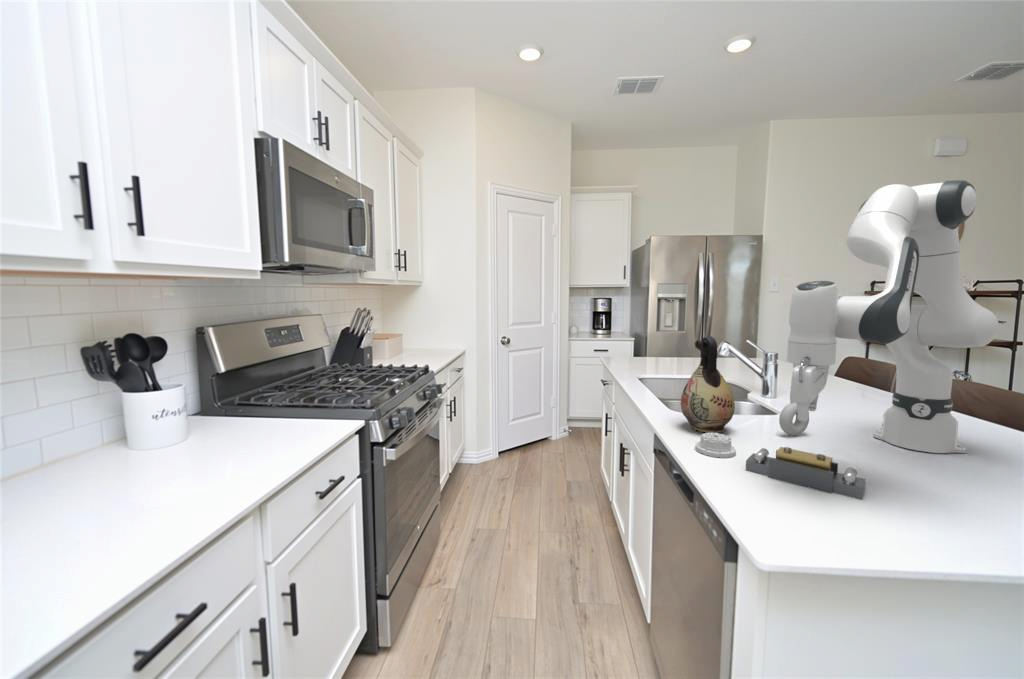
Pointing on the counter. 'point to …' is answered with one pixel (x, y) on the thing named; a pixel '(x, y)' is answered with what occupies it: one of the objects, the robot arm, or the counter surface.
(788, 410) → the donut
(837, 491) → the linear slide rail
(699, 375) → the ceramic jug
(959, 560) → the counter surface
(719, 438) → the mechanical component
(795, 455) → the gold block with knob
